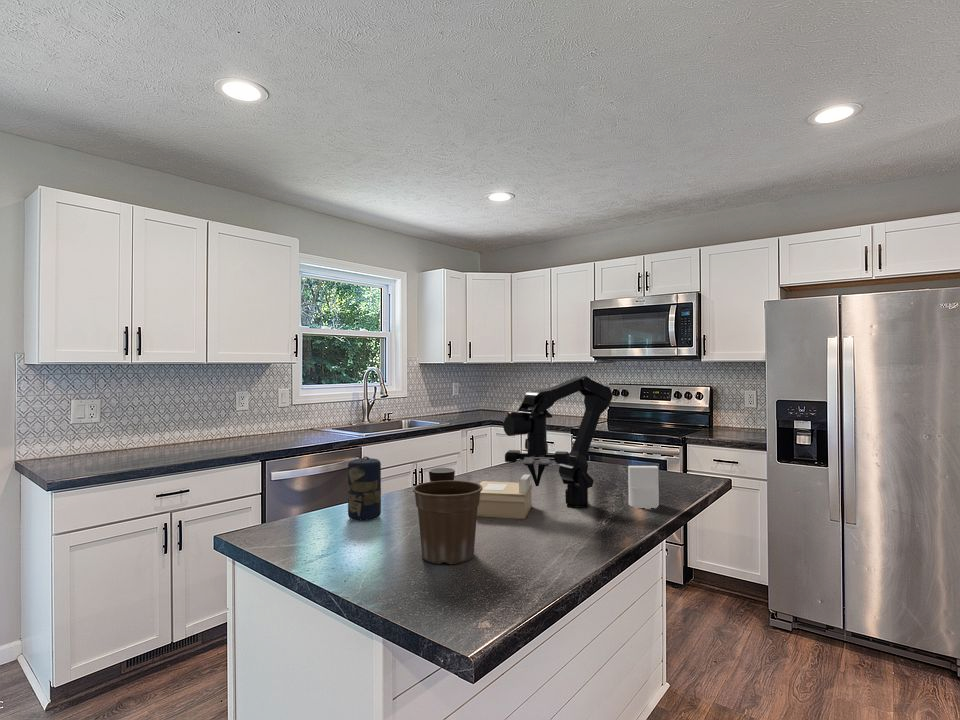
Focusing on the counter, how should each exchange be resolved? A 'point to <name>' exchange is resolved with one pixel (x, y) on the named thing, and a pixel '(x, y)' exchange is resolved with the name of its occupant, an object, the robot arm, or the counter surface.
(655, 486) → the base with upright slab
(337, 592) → the counter surface
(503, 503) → the mailer box
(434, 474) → the coffee mug
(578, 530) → the counter surface
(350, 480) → the canister
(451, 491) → the plant pot
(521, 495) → the lid
